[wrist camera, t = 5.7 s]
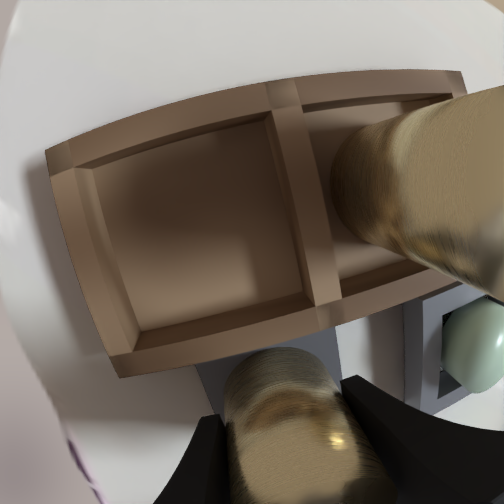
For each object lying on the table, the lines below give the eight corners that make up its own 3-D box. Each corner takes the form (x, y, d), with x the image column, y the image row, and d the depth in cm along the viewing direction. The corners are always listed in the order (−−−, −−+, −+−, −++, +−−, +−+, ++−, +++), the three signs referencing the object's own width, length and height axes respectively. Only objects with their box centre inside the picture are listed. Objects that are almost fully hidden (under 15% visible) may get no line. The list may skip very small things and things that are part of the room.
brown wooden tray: (463, 259, 11) (495, 271, 9) (128, 356, 11) (114, 387, 9) (432, 76, 10) (463, 64, 8) (64, 149, 9) (34, 144, 7)
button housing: (493, 355, 13) (509, 367, 11) (404, 403, 13) (418, 421, 11) (500, 248, 12) (522, 255, 10) (401, 288, 11) (422, 300, 10)
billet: (334, 414, 12) (392, 525, 6) (239, 440, 12) (256, 565, 6) (321, 333, 11) (404, 451, 5) (209, 363, 11) (209, 507, 5)
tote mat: (342, 407, 12) (346, 413, 12) (228, 439, 12) (228, 445, 12) (330, 319, 11) (334, 324, 11) (194, 356, 11) (194, 361, 11)
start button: (489, 352, 12) (515, 370, 10) (434, 383, 12) (459, 407, 10) (495, 284, 11) (526, 298, 9) (437, 312, 11) (468, 332, 9)
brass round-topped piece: (438, 229, 10) (571, 268, 5) (343, 257, 10) (467, 337, 4) (419, 119, 9) (556, 91, 4) (316, 134, 9) (439, 80, 3)
